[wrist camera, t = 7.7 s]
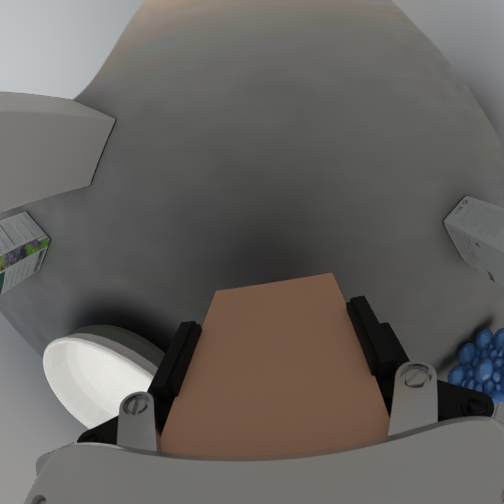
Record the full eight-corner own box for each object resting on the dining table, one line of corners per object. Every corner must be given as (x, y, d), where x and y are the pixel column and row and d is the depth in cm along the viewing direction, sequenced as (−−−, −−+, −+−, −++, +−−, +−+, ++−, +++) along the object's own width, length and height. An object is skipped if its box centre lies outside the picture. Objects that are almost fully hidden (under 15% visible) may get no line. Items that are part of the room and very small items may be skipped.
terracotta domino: (216, 290, 15) (150, 465, 5) (331, 272, 14) (399, 450, 4) (225, 322, 15) (179, 492, 6) (335, 306, 14) (386, 480, 5)
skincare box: (440, 222, 23) (522, 269, 11) (466, 192, 21) (552, 223, 10) (463, 262, 24) (533, 318, 12) (487, 235, 23) (561, 278, 11)
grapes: (440, 385, 30) (471, 446, 19) (424, 366, 29) (460, 435, 17) (499, 332, 26) (542, 382, 15) (489, 305, 25) (542, 359, 14)
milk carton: (91, 186, 24) (-76, 247, 6) (48, 160, 23) (-99, 197, 6) (117, 119, 22) (-68, 114, 4) (71, 99, 21) (-86, 92, 3)
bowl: (58, 335, 32) (26, 369, 24) (128, 267, 27) (84, 306, 19) (147, 420, 36) (130, 460, 28) (240, 386, 31) (232, 441, 23)
